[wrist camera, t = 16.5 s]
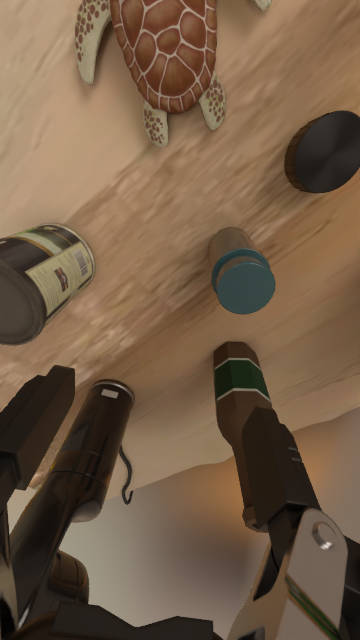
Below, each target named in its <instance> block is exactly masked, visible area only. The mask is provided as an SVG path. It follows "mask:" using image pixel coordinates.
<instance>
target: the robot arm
mask: <svg viewBox="0 0 360 640" xmlns="http://www.w3.org/2000/svg"><path fill="white" fill-rule="evenodd" d="M74 396H75V369H74V368H69V367H64V366H59V365H55V366H53V367H52V369H51V370H50V371H49V373H48V374H47V375H46V376H41V375H37V376H36V377H34V378H33V379H31V380H29V381H28V382H26V383H25V384H24V385H23V386H22V388H21V389H20V390H19V391H18V392H17V394H16V396H15V397H13V399H12V400H11V401H10V402H9V403H8V406H6V407H5V408H4V409H3V411H2V412H1V413H0V640H223V639H222V638H221V637H220V636H219V635H217V634H216V633H215V632H213V621H210V620H202V619H195V618H187V617H180V616H175V617H172V618H168V619H165V620H162V621H158V622H155V623H152V624H148V625H145V626H141V627H134V626H132V625H130V624H128V623H127V622H125V621H124V620H122V619H120V618H119V617H117V616H115V615H113V614H112V613H110V612H109V611H107V610H105V609H104V608H102V607H100V606H98V605H89V604H88V601H89V578H88V574H87V570H86V568H85V566H84V565H83V564H82V563H81V562H80V561H79V560H78V559H76V558H74V557H72V556H70V555H69V554H67V553H65V552H63V551H61V550H59V546H60V544H61V542H62V539H63V538H64V535H65V533H66V531H67V529H68V527H69V525H70V524H71V523H77V522H86V521H90V520H92V519H94V518H96V517H97V516H98V515H99V513H100V512H101V509H102V506H103V503H104V500H105V497H106V493H107V490H108V487H109V483H110V480H111V476H112V473H113V469H114V466H115V463H116V459H117V456H118V453H119V454H120V456H121V458H122V459H123V461H124V462H125V464H126V466H127V469H128V480H127V483H126V485H125V486H124V488H123V490H122V497H123V500H124V502H125V504H127V505H128V504H129V503H130V502H131V499H132V494H133V490H132V491H130V497H129V500H128V501H127V500H126V497H125V490H126V489H127V487H128V486H129V484H130V480H131V467H130V464H129V462H128V461H127V459H126V457H125V456H124V454H123V452H122V448H121V442H122V439H123V436H124V432H125V429H126V426H127V422H128V419H129V416H130V412H131V409H132V407H133V404H134V400H135V398H134V394H133V392H132V391H131V390H130V389H129V388H128V387H127V386H126V385H124V384H122V383H120V382H117V381H114V380H101V381H98V382H96V383H94V384H93V385H92V387H91V389H90V390H89V393H88V396H87V397H86V399H85V401H84V403H83V405H82V407H81V409H80V411H79V413H78V415H77V417H76V419H75V421H74V423H73V424H72V426H71V428H70V430H69V432H68V434H67V436H66V438H65V440H64V442H63V444H62V446H61V448H60V450H59V452H58V454H57V456H56V458H55V460H54V462H53V464H52V466H51V468H50V469H49V471H48V473H47V475H46V478H45V479H44V481H43V483H42V485H41V487H40V488H39V490H38V491H37V492H36V494H35V495H34V497H33V498H32V499H31V500H30V502H29V503H28V505H27V506H26V507H25V509H24V511H23V512H22V514H21V516H20V518H19V520H18V521H17V523H16V525H15V527H14V529H13V530H12V532H11V534H10V536H9V525H8V513H7V502H8V500H9V498H10V497H11V495H12V493H13V492H14V490H15V489H18V490H26V489H27V487H28V485H29V483H30V481H31V479H32V478H33V476H34V474H35V472H36V470H37V468H38V467H39V465H40V463H41V461H42V459H43V457H44V455H45V454H46V452H47V450H48V448H49V446H50V444H51V443H52V441H53V439H54V437H55V435H56V433H57V431H58V430H59V428H60V426H61V424H62V422H63V420H64V419H65V417H66V415H67V413H68V411H69V409H70V407H71V405H72V403H73V400H74ZM242 445H243V450H244V456H245V462H246V467H247V473H248V478H249V484H250V489H251V495H252V501H253V506H254V512H255V517H256V523H257V528H258V530H260V531H267V532H269V535H270V540H271V541H270V542H269V544H268V546H267V548H266V551H265V554H264V556H263V559H262V561H261V564H260V567H259V569H258V572H257V575H256V577H255V580H254V583H253V585H252V588H251V590H250V593H249V596H248V598H247V600H246V602H245V604H244V606H243V608H242V609H241V610H240V612H239V613H238V615H237V617H236V619H235V621H234V623H233V625H232V628H231V630H230V633H229V635H228V638H227V640H360V544H359V543H357V542H355V541H353V540H351V539H350V538H348V537H346V536H344V535H343V534H342V532H341V531H340V529H339V527H338V526H337V525H336V523H335V522H334V521H333V520H332V519H331V518H330V517H329V516H328V515H326V514H325V513H324V512H322V510H321V508H320V505H319V503H318V500H317V498H316V495H315V493H314V490H313V487H312V485H311V482H310V479H309V477H308V474H307V472H306V469H305V467H304V464H303V463H302V458H301V456H300V453H299V452H298V448H297V445H296V443H295V440H294V437H293V436H292V434H291V433H290V431H289V430H288V429H287V427H286V426H285V425H284V424H280V423H279V420H278V417H277V414H276V412H275V411H274V410H273V409H269V408H264V407H259V406H256V407H254V409H253V411H252V412H251V414H250V416H249V417H248V419H247V421H246V422H245V424H244V426H243V429H242Z"/></svg>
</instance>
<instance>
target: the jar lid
mask: <svg viewBox="0 0 360 640" xmlns="http://www.w3.org/2000/svg"><path fill="white" fill-rule="evenodd" d="M284 167H285V173H286V174H285V175H286V176H287V178H288V180H289V182H290V183H291V184H292V185H293V186H294V188H297V189H299V190H300V191H304V192H310V193H325V192H330V191H333V190H335V189H337V188H339V187H341V186H342V185H344V184H345V183H346V182H347V181H348V180H350V179H351V178H352V176H353V175H354V174H355V173H356V172H357V170H358V169H359V167H360V117H359V116H358V115H356V114H355V113H353V112H350V111H335V112H331V113H327V114H325V115H323V116H321V117H319V118H316V119H314V120H312V121H310V122H308V124H307V125H305V126H304V127H303V128H301V129H300V131H299V132H298V133H297V134H296V135H295V136H294V137H293V139H292V141H291V143H290V145H289V146H288V150H287V153H286V156H285V165H284Z"/></svg>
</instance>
